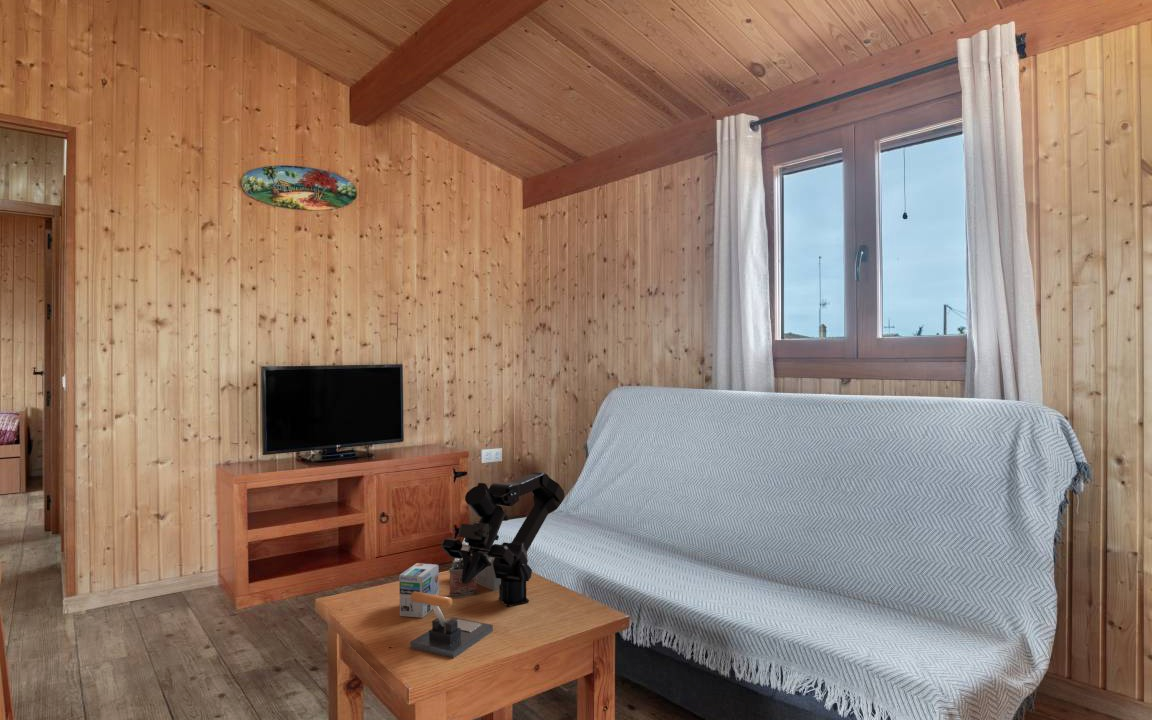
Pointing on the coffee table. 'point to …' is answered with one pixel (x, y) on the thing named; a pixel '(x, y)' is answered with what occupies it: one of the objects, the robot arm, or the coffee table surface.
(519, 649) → the coffee table surface
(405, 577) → the light bulb box
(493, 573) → the cassette player
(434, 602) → the lever
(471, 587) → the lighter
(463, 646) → the switch panel
